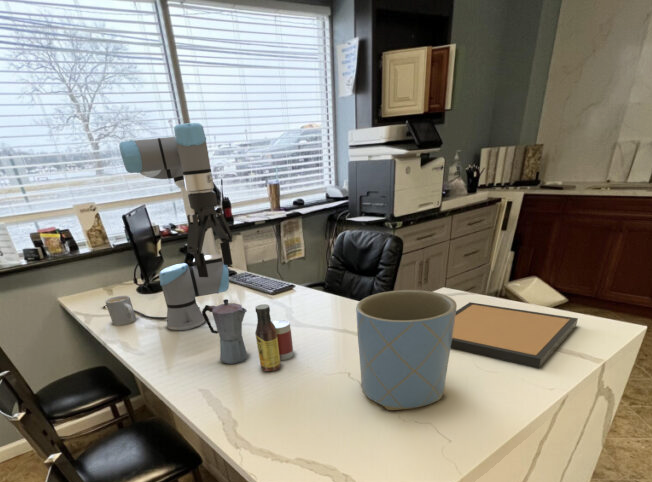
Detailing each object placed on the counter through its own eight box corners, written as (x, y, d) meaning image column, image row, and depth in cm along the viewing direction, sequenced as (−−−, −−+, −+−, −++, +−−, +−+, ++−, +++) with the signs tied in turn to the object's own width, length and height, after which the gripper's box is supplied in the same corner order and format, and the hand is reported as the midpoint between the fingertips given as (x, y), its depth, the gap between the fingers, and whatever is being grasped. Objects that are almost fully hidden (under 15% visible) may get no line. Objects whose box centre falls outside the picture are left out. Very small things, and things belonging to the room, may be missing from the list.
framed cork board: (538, 368, 111) (575, 326, 132) (541, 358, 109) (578, 318, 130) (421, 341, 133) (468, 309, 154) (421, 333, 131) (469, 302, 152)
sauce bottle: (261, 364, 129) (251, 303, 119) (280, 362, 129) (272, 301, 119) (261, 374, 123) (250, 310, 113) (281, 371, 123) (273, 308, 113)
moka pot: (250, 365, 129) (239, 303, 119) (205, 364, 133) (191, 305, 122) (259, 352, 137) (249, 294, 127) (216, 352, 140) (204, 295, 130)
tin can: (269, 359, 132) (264, 327, 126) (278, 350, 137) (273, 319, 131) (288, 361, 129) (284, 328, 124) (296, 352, 135) (293, 320, 129)
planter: (466, 401, 100) (478, 309, 88) (381, 423, 96) (382, 329, 83) (418, 364, 119) (423, 284, 107) (345, 381, 115) (342, 299, 102)
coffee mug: (109, 322, 181) (101, 300, 175) (131, 315, 186) (124, 294, 181) (121, 328, 172) (113, 305, 167) (143, 321, 177) (136, 299, 172)
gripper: (184, 196, 100) (203, 282, 111) (236, 185, 119) (247, 260, 130) (160, 198, 103) (181, 282, 114) (214, 187, 122) (227, 260, 133)
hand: (216, 270), depth 122 cm, fingers open, 13 cm apart
